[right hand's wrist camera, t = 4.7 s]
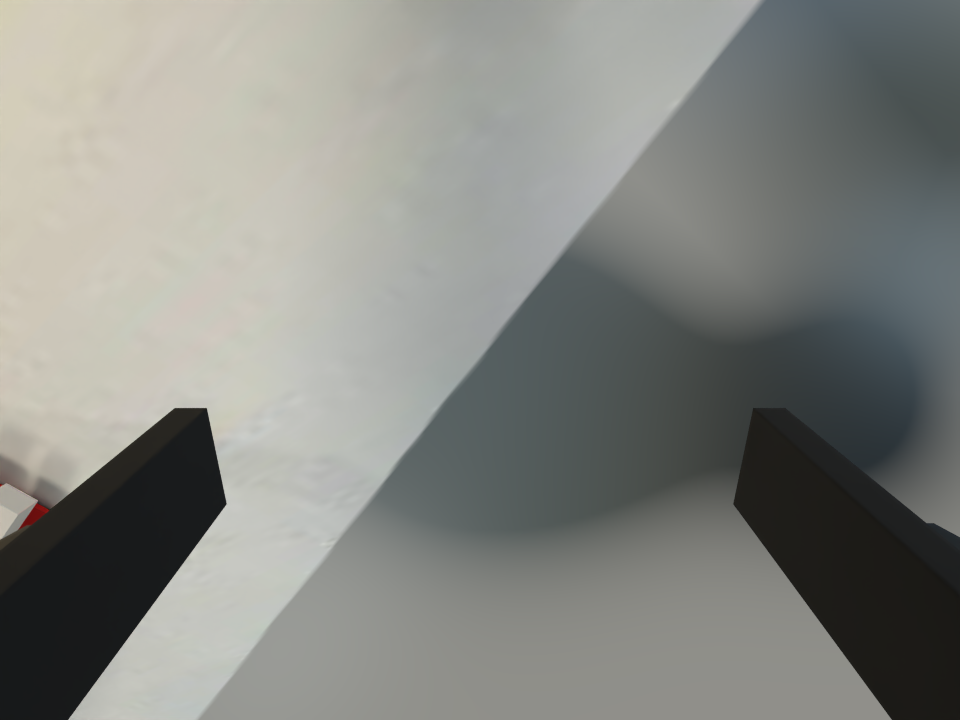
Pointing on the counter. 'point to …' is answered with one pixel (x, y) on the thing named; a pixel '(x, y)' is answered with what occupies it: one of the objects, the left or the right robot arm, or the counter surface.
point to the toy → (17, 510)
